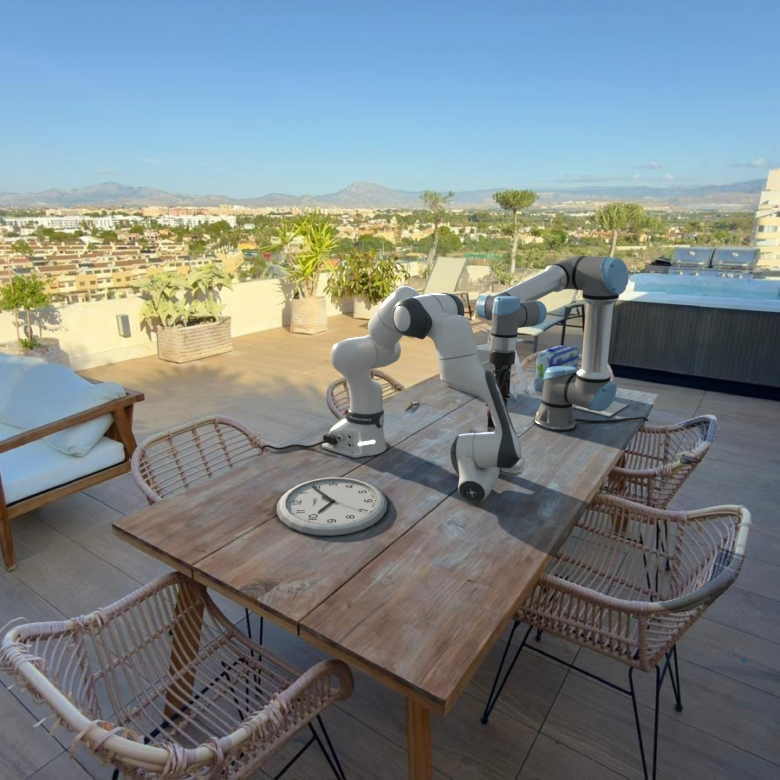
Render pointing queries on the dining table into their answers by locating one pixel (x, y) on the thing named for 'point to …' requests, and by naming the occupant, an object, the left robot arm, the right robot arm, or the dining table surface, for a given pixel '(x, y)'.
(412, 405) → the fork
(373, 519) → the wall clock
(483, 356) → the white plastic object
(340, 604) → the dining table surface
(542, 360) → the lunch box
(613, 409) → the invitation card
